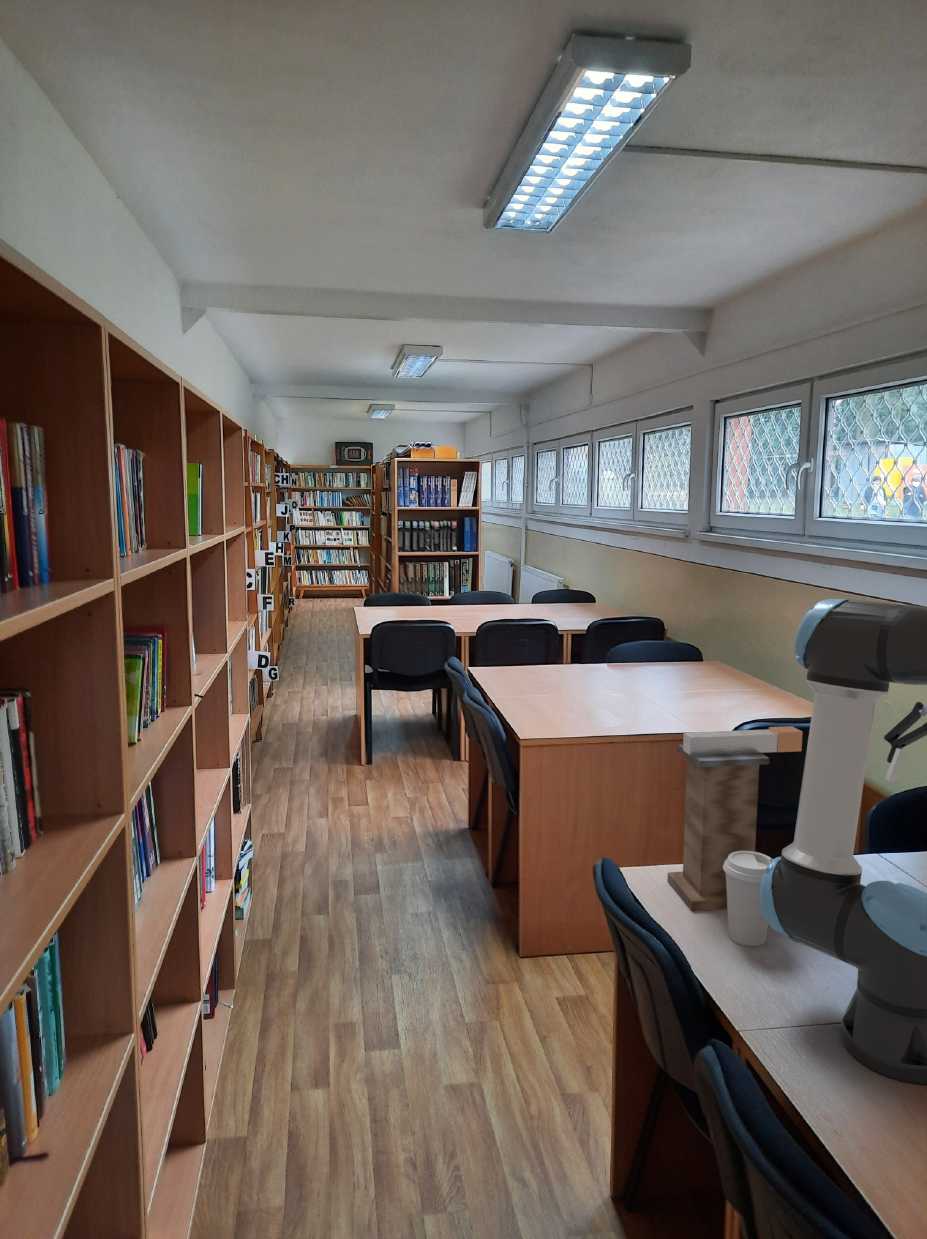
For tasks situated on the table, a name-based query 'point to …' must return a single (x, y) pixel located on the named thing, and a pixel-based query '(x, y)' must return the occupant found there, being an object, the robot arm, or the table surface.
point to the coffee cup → (746, 897)
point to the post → (716, 823)
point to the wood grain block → (743, 741)
